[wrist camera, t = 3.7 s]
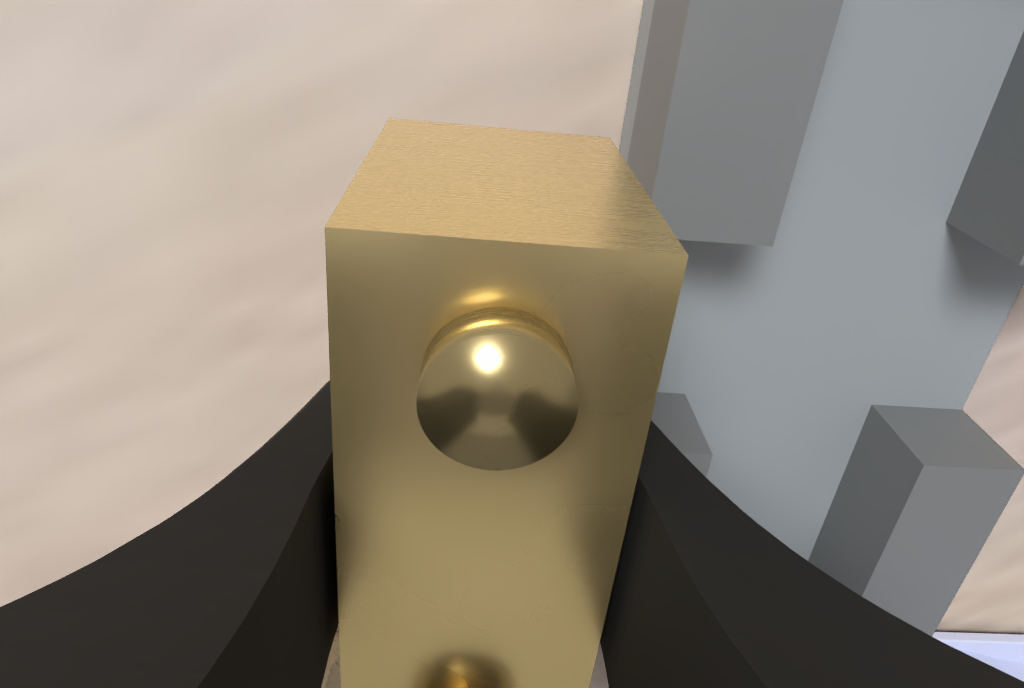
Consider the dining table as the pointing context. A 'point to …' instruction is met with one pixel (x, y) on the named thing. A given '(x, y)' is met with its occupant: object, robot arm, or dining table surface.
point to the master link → (489, 399)
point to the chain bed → (839, 269)
